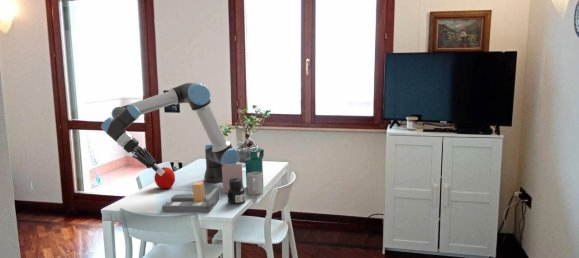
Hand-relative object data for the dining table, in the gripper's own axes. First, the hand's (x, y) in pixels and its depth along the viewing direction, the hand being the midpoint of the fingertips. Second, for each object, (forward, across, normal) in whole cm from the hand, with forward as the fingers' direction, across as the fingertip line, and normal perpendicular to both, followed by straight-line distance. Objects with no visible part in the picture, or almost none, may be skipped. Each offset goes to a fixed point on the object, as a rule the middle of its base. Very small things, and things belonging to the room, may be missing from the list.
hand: (162, 174), depth 234 cm
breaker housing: (+22, 0, -2) cm, 22 cm away
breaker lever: (+23, 0, +2) cm, 24 cm away
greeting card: (+33, -27, +8) cm, 43 cm away
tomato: (+4, -34, -21) cm, 40 cm away
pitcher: (+42, -35, +17) cm, 57 cm away
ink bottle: (+38, -6, +13) cm, 41 cm away
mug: (+43, -21, +18) cm, 51 cm away
